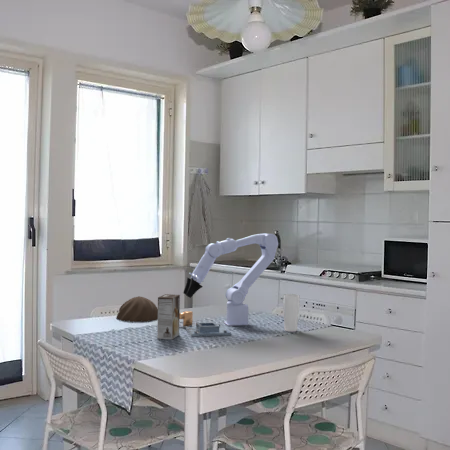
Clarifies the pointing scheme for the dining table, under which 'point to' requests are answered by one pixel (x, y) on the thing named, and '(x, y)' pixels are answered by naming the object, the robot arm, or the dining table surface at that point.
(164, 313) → the coffee box
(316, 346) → the dining table surface
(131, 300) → the decorative dome
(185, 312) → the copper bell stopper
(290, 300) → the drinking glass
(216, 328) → the flange plate
